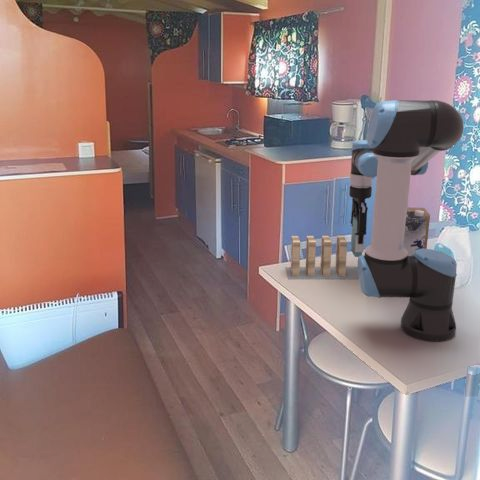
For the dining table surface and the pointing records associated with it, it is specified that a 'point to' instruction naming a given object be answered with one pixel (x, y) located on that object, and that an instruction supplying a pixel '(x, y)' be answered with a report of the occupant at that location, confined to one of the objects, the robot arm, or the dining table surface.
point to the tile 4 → (341, 256)
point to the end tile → (354, 238)
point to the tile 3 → (325, 255)
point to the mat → (350, 274)
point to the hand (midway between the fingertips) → (356, 248)
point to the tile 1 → (295, 256)
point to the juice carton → (414, 231)
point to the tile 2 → (310, 256)
